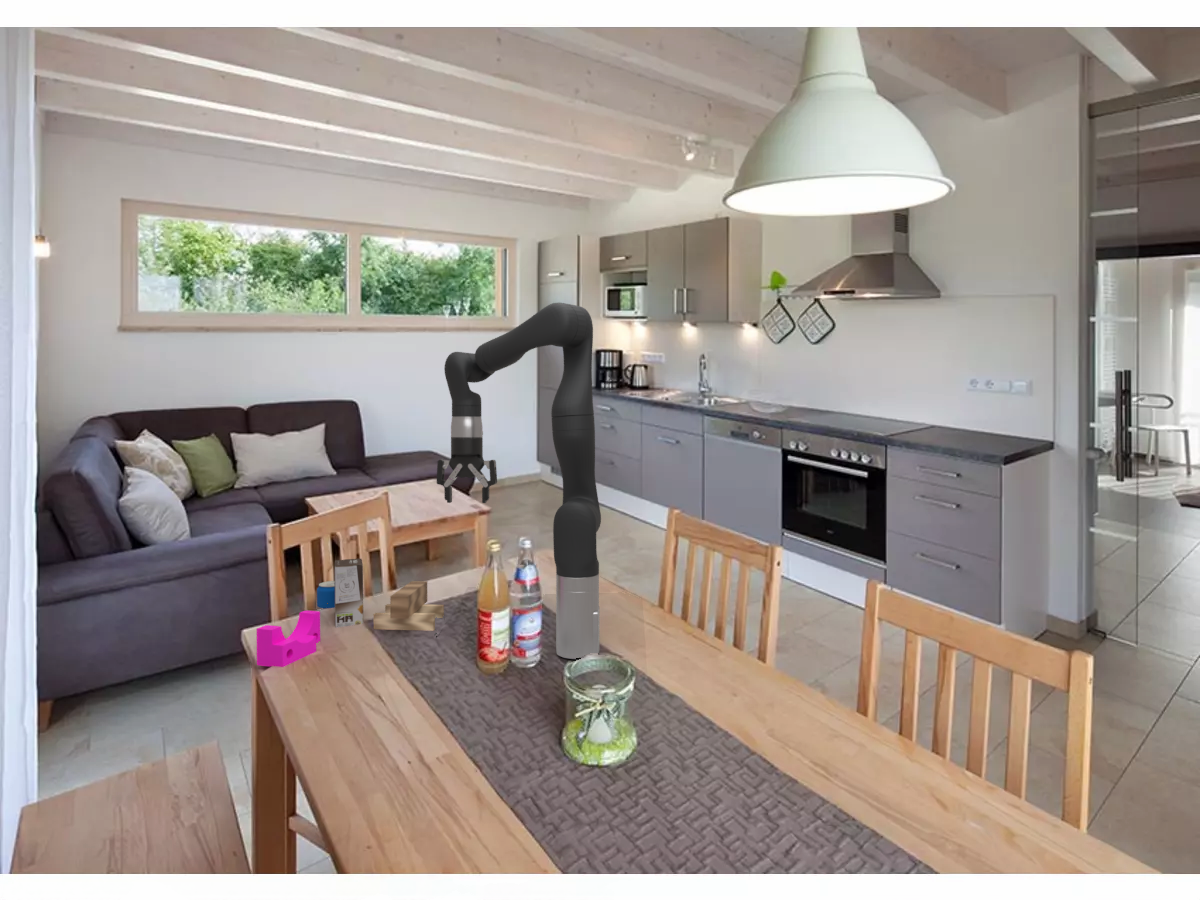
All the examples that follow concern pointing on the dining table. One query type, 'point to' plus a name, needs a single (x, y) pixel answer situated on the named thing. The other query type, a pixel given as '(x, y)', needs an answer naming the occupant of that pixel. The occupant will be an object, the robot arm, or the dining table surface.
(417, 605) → the walnut beam
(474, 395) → the robot arm
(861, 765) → the dining table surface
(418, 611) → the rail stand
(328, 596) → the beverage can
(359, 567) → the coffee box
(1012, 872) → the dining table surface
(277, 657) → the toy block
